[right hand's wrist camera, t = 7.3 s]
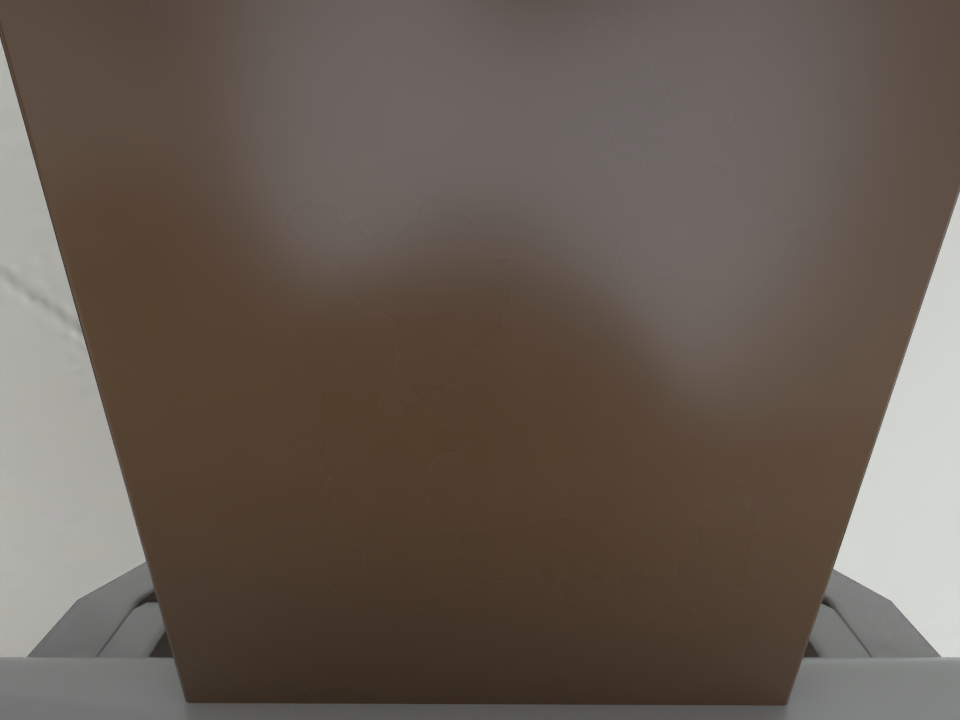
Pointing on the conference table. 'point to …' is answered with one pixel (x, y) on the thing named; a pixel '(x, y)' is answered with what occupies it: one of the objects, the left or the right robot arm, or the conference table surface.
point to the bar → (492, 323)
